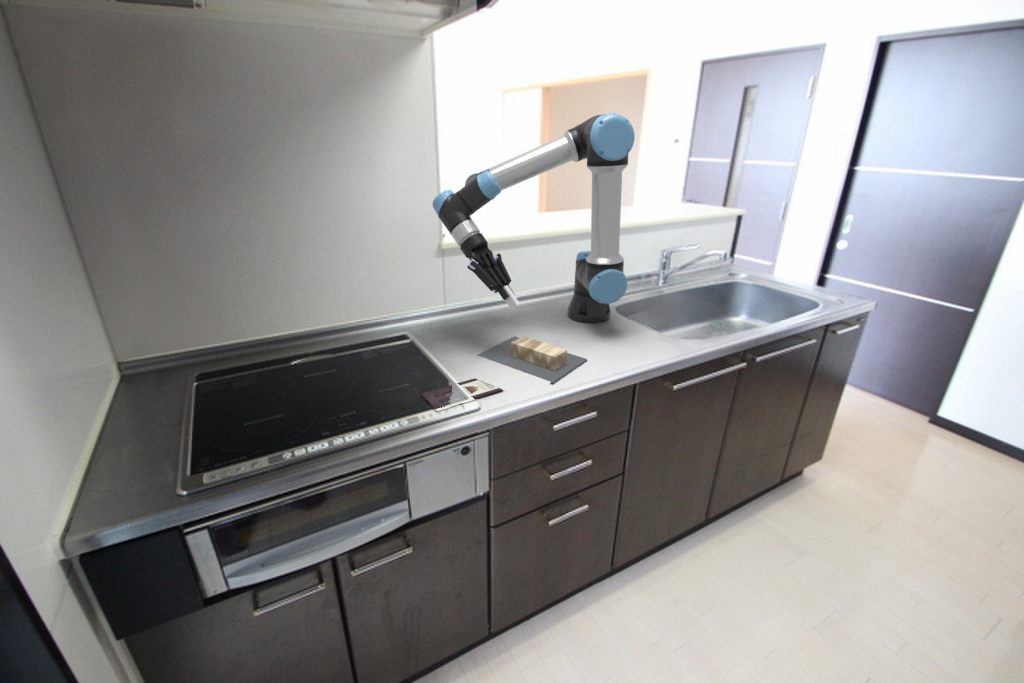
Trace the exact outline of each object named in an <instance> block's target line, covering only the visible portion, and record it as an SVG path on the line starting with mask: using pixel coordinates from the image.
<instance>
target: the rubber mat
mask: <svg viewBox="0 0 1024 683" xmlns="http://www.w3.org/2000/svg"><path fill="white" fill-rule="evenodd" d="M519 338H520V337H519V336H512V337H510V338H509V339H508V338H507V339H506V340H504V341H502V342H499V343H498V344H496V345H494V346H492V347H490V348H488V349H486V350H484V351H482V352H480V353H478V354H477V356H478V357H481V358H484V359H487V360H489V361H493V362H495V363H498V364H500V365H503V366H506V367H509V368H512V369H514V370H516V371H520V372H523V373H525V374H528V375H530V376H534V377H537V378H538V379H539V378H540V379H542V380H545V381H548V382H549V383H551V385H555V382H556V383H557V382H559V381H560V380H561V378H563V379H564V377H566V376H567V375H569V374H570V373H572V372H573V371H575V370H576V369H577V367H578V368H579V367H581V365H583V364H585V363H586V362H588V358H586V357H582V356H579V355H576V354H573V353H569V352H567V360H566V363H565V364H564V365H562V366H561V367H559V368H558V369H556V370H552V369H549V368H546V367H543V366H540V365H537V364H534V363H531V362H529V361H526V360H523V359H520V358H517V357H514V356H511V342H513V341H515V340H517V339H519ZM574 369H575V370H574ZM568 373H569V374H568ZM558 380H559V381H558Z"/></svg>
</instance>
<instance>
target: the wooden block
mask: <svg viewBox="0 0 1024 683" xmlns="http://www.w3.org/2000/svg"><path fill="white" fill-rule="evenodd" d="M567 353H568V349H566V348H563V347H559V346H555V345H552V344H549V343H547V342H543V341H540V340H536V339H533V338H530V337H526V336H524V335H523V336H522V337H519V339H517V340H515V341H513V342H511V356H514V357H517V358H520V359H523V360H526V361H529V362H531V363H534V364H537V365H540V366H543V367H546V368H549V369H552V370H556V369H558V368H559V367H561V366H562V365H564V364H565V363H566V360H567Z"/></svg>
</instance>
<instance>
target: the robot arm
mask: <svg viewBox="0 0 1024 683" xmlns="http://www.w3.org/2000/svg"><path fill="white" fill-rule="evenodd" d="M634 142H635V130H634V127H633V125H632V123H631V121H630V120H628V118H627V117H625V116H624V115H621V114H618V113H615V112H614V113H611V112H609V113H604V114H597V115H594V116H592V117H590V118H587V119H586V120H585V121H582V122H581V123H580V124H578V125H576V126H574V127H572V128H570V129H567V130H565V132H564V134H563V136H559V137H558V138H555V139H553V140H551V141H549V142H546V143H545V144H541V145H540V146H537V147H535V148H532V149H530V150H528V151H526V152H523V153H522V154H519V155H516V156H514V157H512V158H510V159H507V160H506V161H505V160H504V161H502V162H500V163H497V164H495V165H493V166H492V167H489V168H487V169H484V170H482V171H480V172H476V173H472V174H470V175H469V176H468V177H467V178H466V179H465V180H466V181H465V182H464V186H463V187H462V188H461V189H459V190H458V191H456V192H453V190H450V189H447V190H443V191H442V192H439V194H437V195H436V196H435V197H434V199H433V200H432V208H433V209H434V211H435V213H436V214H437V217H438V218H439V220H440V221H441V222H442V224H443V225H444V227H445V228H446V230H447V231H448V233H449V234H450V236H452V239H453V240H454V241H455V243H456V244H457V245H458V247H459V248H460V250H461V252H462V254H463V255H464V256H465V258H467V259H469V261H470V262H469V264H468V265H467V269H468V270H469V271H471V272H472V273H474V275H475V276H477V278H478V279H479V280H480V281H481V282H482V283H483V284H484V286H486V287H487V288H488V289H489V290H490V292H494V293H495V294H497V293H498V294H499V295H500V297H501V298H502V300H504V302H506V304H507V305H508V307H509V309H510V310H511V311H513V310H515V309H517V308H518V307H519V306H520V305H521V303H520V301H519V300H518V298H517V297H516V296H515V292H514V291H513V290H512V288H511V287H510V284H511V283H512V278H511V277H510V274H509V272H508V269H507V268H506V266H505V264H504V262H503V259H502V258H503V257H502V255H501V253H500V252H499V253H497V254H495V253H493V251H492V250H491V249H490V248H489V247H488V246H489V242H488V241H487V239H486V237H485V236H484V235H483V233H481V230H480V229H479V228H478V226H477V225H476V223H475V222H474V220H473V218H472V217H471V216H472V215H473V214H475V213H476V212H477V211H479V210H480V209H481V208H483V207H484V206H485V205H487V204H488V203H489V202H491V201H492V200H494V199H495V198H496V197H497V196H498V195H499V194H501V193H502V191H503V190H505V189H508V188H510V187H513V186H516V185H517V184H520V183H523V182H524V181H527V180H529V179H532V178H534V177H536V176H539V175H541V174H544V173H547V172H549V171H551V170H553V169H555V168H557V167H560V166H562V165H564V164H567V163H569V162H574V163H578V162H580V161H583V160H586V167H587V169H588V170H589V171H590V172H591V215H590V216H591V219H590V220H591V221H590V222H591V224H590V228H591V230H590V231H591V232H590V250H584V251H579V252H578V253H577V254H576V260H575V273H574V286H573V294H572V297H571V299H570V302H569V305H568V307H567V313H566V315H567V317H568V316H569V317H568V318H570V319H571V320H573V321H576V320H577V322H581V323H586V324H587V323H588V324H599V323H603V322H607V321H608V320H610V318H611V308H610V304H614V303H617V302H618V301H619V300H621V298H623V296H625V294H626V292H627V290H628V283H629V282H628V279H627V276H626V275H625V273H624V264H625V263H624V262H625V258H624V257H623V256H622V255H621V253H620V239H621V238H620V236H621V214H622V213H621V212H622V211H621V210H622V189H623V186H622V185H623V171H624V170H625V169H626V168H627V167H628V165H629V153H630V152H631V151H632V149H633V147H634V144H635V143H634Z"/></svg>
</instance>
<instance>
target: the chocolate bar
mask: <svg viewBox="0 0 1024 683" xmlns="http://www.w3.org/2000/svg"><path fill="white" fill-rule="evenodd" d="M457 384H459V385H460V386H461V387H462V388H463V389H464V390H465V391H466V392H467V393H468V394H469V395H470V396H471V397H473V398H474V399H478V400H480V399H484V398H487V397H490V396H494V395H497V394H500V393H503V392H504V391H503V389H502V388H500V387H498V386H495V385H493V384H491V383H488V382H485V381H482V380H480V379H477V378H475V377H474V378H471V379H467V380H465V381H460V382H457ZM452 385H453V384H450V385H447V386H442V387H439V388H436V389H433V390H427V391H425V392H422V393H420V396H421V395H422V396H423V397H422V396H421V397H422V398H423V399H424V398H425V399H424V400H425V401H426V400H427V401H428V402H429V403H430V405H431V406H432V407H434V408H435V409H437V408H440V407H441V408H442V405H444V404H445V403H444V402H446V403H447V402H448V400H450V399H449V398H450V397H451V395H452V393H453V392H452ZM451 392H452V393H451ZM446 398H447V399H446ZM445 400H446V401H445ZM427 401H426V402H427ZM428 402H427V403H428ZM442 403H443V404H442ZM431 406H430V407H431ZM439 406H440V407H439ZM432 407H431V408H432ZM444 407H445V406H444Z"/></svg>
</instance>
